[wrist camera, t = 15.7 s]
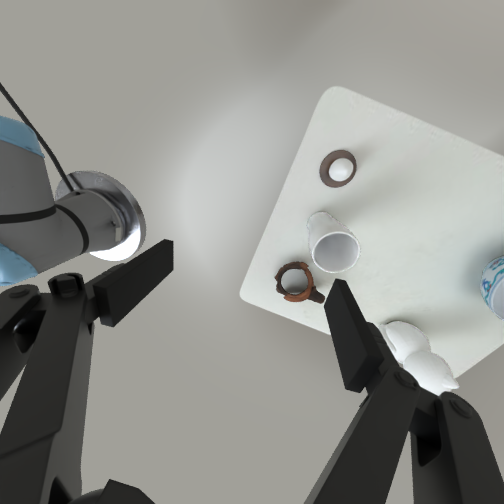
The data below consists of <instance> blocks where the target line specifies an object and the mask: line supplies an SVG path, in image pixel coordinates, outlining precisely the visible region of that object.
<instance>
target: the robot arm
mask: <svg viewBox="0 0 504 504" xmlns="http://www.w3.org/2000/svg"><path fill="white" fill-rule="evenodd" d="M0 91H1V92H2V94H3V95H4V96H5V97H6V99H7V100H8V101H9V103H10V104H11V105H12V107H13V108H14V109H15V111H16V112H17V113H18V115H19V116H20V117H21V118H22V120H23V121H24V122H25V124H24V123H22V122H20V121H17V120H13V119H10V118H7V117H3V116H0V286H7V285H12V284H15V283H18V282H20V281H23V280H26V279H28V278H31V277H35V276H37V275H38V274H40V273H42V272H44V271H46V270H48V269H50V268H53V267H55V266H57V265H59V264H61V263H63V262H65V261H68V260H70V259H72V258H74V257H77V256H79V255H81V254H83V253H89V252H97V251H105V250H110V249H112V248H114V247H116V246H118V245H120V244H121V243H122V242H123V240H124V238H125V235H126V225H125V221H124V218H123V215H122V213H121V212H120V210H119V208H118V207H117V206H116V204H115V203H114V202H113V201H112V200H111V199H110V198H108V197H107V196H106V195H104V194H102V193H101V192H99V191H96V190H92V189H80V190H74V189H73V187H72V185H71V184H70V182H69V180H68V178H67V177H66V175H65V173H64V171H63V170H62V168H61V166H60V164H59V162H58V160H57V159H56V157H55V155H54V154H53V152H52V151H51V149H50V148H49V147H48V145H47V144H46V142H45V141H44V140H43V138H42V137H41V136H40V134H39V133H38V132H37V131H36V129H35V128H34V127H33V126H32V124H31V123H30V122H29V120H28V119H27V118H26V116H25V115H24V114H23V112H22V111H21V110H20V108H19V107H18V106H17V104H16V103H15V102H14V100H13V99H12V98H11V96H10V95H9V94H8V92H7V91H6V90H5V88H4V87H3V86H2V84H1V83H0ZM38 140H39V141H40V143H41V144H42V146H43V147H44V149H45V150H46V151H47V153H48V154H49V156H50V157H51V159H52V161H53V162H54V164H55V166H56V168H57V170H58V172H59V173H60V175H61V177H62V179H63V180H64V182H65V184H66V185H67V187H68V189H69V191H70V193H68V194H66V195H65V196H63V197H61V198H60V199H58V200H56V201H54V198H53V194H52V190H51V186H50V182H49V178H48V174H47V170H46V166H45V162H44V158H45V156H44V154H43V153H42V152H41V149H40V146H39V143H38ZM172 271H173V241H171V240H166V239H164V240H162V241H161V242H159V243H157V244H156V245H154V246H153V247H151V248H150V249H148V250H146V251H145V252H143V253H142V254H140V255H139V256H137V257H135V258H134V259H132V260H131V261H129V262H128V263H126V264H124V263H122V264H119V265H116V266H113V267H112V268H110V269H108V270H107V271H105V272H103V273H102V274H101V275H98V276H97V277H95V278H94V279H92V280H90V281H89V282H87V283H85V284H84V281H83V277H82V275H81V274H79V273H65V274H60V275H57V276H55V277H53V278H51V279H50V280H49V281H48V285H49V288H50V291H51V293H40V292H39V289H38V287H37V286H35V285H30V284H27V285H19V286H15V287H12V288H10V289H7V290H5V291H4V292H2V293H1V294H0V401H1V399H2V398H3V396H4V395H5V393H6V392H7V391H8V389H9V388H10V386H11V385H12V383H13V382H14V380H15V379H16V378H17V376H18V375H19V373H20V372H21V371H22V369H23V368H24V366H25V365H26V367H25V369H24V372H23V375H22V377H21V380H20V383H19V386H18V388H17V391H16V393H15V396H14V399H13V401H12V404H11V407H10V410H9V412H8V415H7V418H6V420H5V423H4V426H3V428H2V431H1V434H0V504H155V503H154V502H153V501H152V500H151V499H150V498H148V497H147V496H146V495H145V494H144V493H143V492H142V491H141V490H140V489H138V488H136V487H133V486H129V485H126V484H123V483H120V482H117V481H114V480H111V479H109V481H108V482H107V484H106V486H105V488H104V489H99V490H95V491H91V492H89V493H87V494H84V495H82V496H81V492H82V480H81V471H80V470H81V468H80V467H81V466H80V465H81V454H82V444H83V435H84V425H85V415H86V405H87V394H88V385H89V375H90V365H91V355H92V345H93V335H94V322H93V321H94V320H96V319H97V318H98V317H100V321H101V324H103V325H106V326H111V327H114V326H115V325H116V324H117V323H119V322H120V321H121V320H122V319H123V318H124V317H125V316H126V315H127V314H128V313H129V312H130V311H131V310H132V309H133V308H134V307H135V306H136V305H137V304H138V303H139V302H140V301H141V300H142V299H143V298H145V297H146V296H147V295H148V294H149V293H150V292H151V291H152V290H153V289H154V288H155V287H156V286H157V285H158V284H159V283H160V282H161V281H162V280H163V279H164V278H165V277H167V276H168V275H169V274H170V273H171V272H172ZM324 309H325V313H326V316H327V320H328V324H329V328H330V332H331V336H332V339H333V343H334V347H335V351H336V355H337V359H338V363H339V367H340V370H341V374H342V378H343V382H344V386H345V389H346V390H350V391H354V392H358V393H361V391H362V390H363V388H364V387H366V390H367V393H368V396H367V397H366V398H365V400H364V401H363V402H362V403H361V405H360V406H359V407H360V408H359V410H358V412H357V414H356V415H355V417H354V419H353V420H352V422H351V424H350V426H349V427H348V429H347V431H346V432H345V434H344V436H343V437H342V439H341V441H340V443H339V444H338V446H337V448H336V449H335V451H334V453H333V454H332V456H331V458H330V460H329V461H328V463H327V465H326V466H325V468H324V470H323V472H322V473H321V475H320V477H319V478H318V480H317V482H316V484H315V485H314V487H313V489H312V491H311V492H310V494H309V496H308V497H307V499H306V501H305V502H304V504H385V502H386V499H387V496H388V493H389V490H390V487H391V484H392V480H393V477H394V474H395V471H396V468H397V465H398V462H399V458H400V455H401V452H402V449H403V446H404V442H405V439H406V436H407V433H408V431H409V432H410V434H411V455H412V476H413V496H414V504H504V482H503V479H502V476H501V473H500V471H499V468H498V465H497V462H496V459H495V456H494V453H493V451H492V448H491V445H490V442H489V439H488V436H487V434H486V431H485V428H484V425H483V422H482V420H481V418H480V416H479V414H478V413H477V412H476V410H475V409H474V408H473V407H472V406H471V405H470V404H469V403H468V402H467V401H465V400H464V399H462V398H461V397H459V396H458V395H456V394H454V393H452V392H448V391H444V392H442V393H441V394H440V395H439V396H438V395H436V394H434V393H432V392H430V391H428V390H426V389H424V388H422V387H420V385H419V383H418V381H417V380H416V379H415V378H414V376H413V375H411V374H410V373H409V372H408V371H406V370H405V369H403V368H401V367H400V366H399V364H398V363H397V361H396V359H395V357H394V355H393V354H392V352H391V350H390V348H389V346H388V345H387V343H386V341H385V339H384V337H383V335H382V334H381V332H380V330H379V329H378V328H377V327H376V326H375V325H374V324H373V323H370V322H366V320H365V318H364V316H363V314H362V312H361V310H360V308H359V306H358V304H357V302H356V300H355V298H354V296H353V294H352V292H351V290H350V288H349V286H348V284H347V282H346V281H345V280H341V279H335V281H334V283H333V286H332V288H331V290H330V293H329V295H328V297H327V299H326V302H325V304H324Z"/></svg>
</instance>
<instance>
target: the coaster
mask: <svg viewBox="0 0 504 504" xmlns="http://www.w3.org/2000/svg"><path fill="white" fill-rule="evenodd" d="M340 158H345V159H348V160H350V161H351V162H352V164H353V171H352V174H351V175H350V176H349V177H348V178H347V179H346V180H344V181H335V180H333V179H332V178H331V177H330V175H329V169H330V166H331V165H332V163H333V162H334V161H335V160H337V159H340ZM355 172H356V160H355V158H354V156H353V155H352V154H351V153H349V152H347V151H344V150H339V151H335V152H332V153H330V154H329V155H328V156H327V157H326V158H325V159H324V160H323V162H322V164H321V166H320V177H321V180H322V181H323V182H324V183H325V184H326V185H327V186H329V187H334V188H336V187H341V186H344V185H346V184H347V183H348V182H349V181H350V180H351V179H352V178H353V176H354V175H355Z"/></svg>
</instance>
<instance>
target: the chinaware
mask: <svg viewBox="0 0 504 504" xmlns="http://www.w3.org/2000/svg"><path fill="white" fill-rule="evenodd" d="M480 288H481V293H482V296H483V299H484V301H485V302H486V304H487V305H488V307H489V308H490V309H491V310H492V312H493V313H494V314H495V315H496V316H497V317H499V318H500V319H501V320H503V321H504V256H502V257H499V258H496V259H494V260H493V261H491V262H490V263H489V264H488V265H487V266H486V267H485V268H484V270H483V276H482V279H481V285H480Z"/></svg>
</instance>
